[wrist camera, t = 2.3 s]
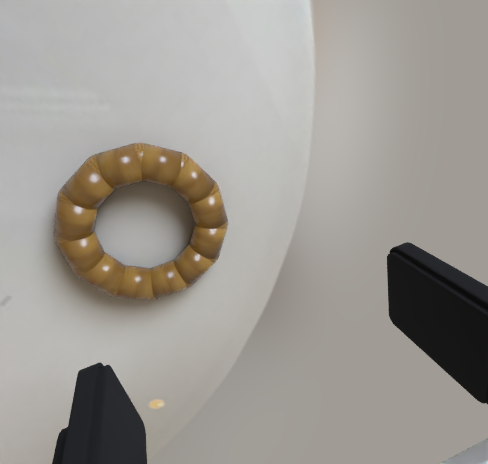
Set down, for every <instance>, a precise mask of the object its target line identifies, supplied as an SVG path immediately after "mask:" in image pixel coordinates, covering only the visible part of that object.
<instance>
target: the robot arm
mask: <svg viewBox="0 0 488 464" xmlns="http://www.w3.org/2000/svg"><path fill="white" fill-rule="evenodd" d="M387 269H388V270H387V272H388V300H389V316H390V319H391V321H392V322H393V324H394V325H395V326H396V327H397V328H399V329H400V330H401V331H402V332H403V333H404V334H405V335H406V336H407V337H408V338H410V339H411V340H412V341H413V342H414V343H415V344H416V345H417V346H418V347H419V348H421V349H422V350H423V351H424V352H425V353H426V354H427V355H428V356H429V357H430V358H432V359H433V360H434V361H435V362H436V363H437V364H438V365H439V366H440V367H441V368H443V369H444V370H445V371H446V372H447V373H448V374H449V375H450V376H451V377H453V379H455V380H456V381H457V382H458V383H459V384H460V385H461V386H462V387H463V388H464V389H466V390H467V391H468V392H469V393H470V394H471V395H472V396H473V397H474V398H475V399H477V400H478V401H480V402H481V403H487V404H488V286H486V285H484V284H482V283H480V282H479V281H477V280H475V279H474V278H472V277H470V276H468V275H466V274H465V273H463V272H461V271H459V270H458V269H456V268H454V267H452V266H451V265H449V264H447V263H445V262H443V261H441V260H440V259H438V258H436V257H435V256H433V255H431V254H429V253H427V252H426V251H424V250H422V249H420V248H419V247H417V246H415V245H413V244H411V243H404V244H402V245H399V246H396V247H394V248H392V249H391V250H390V254H388V256H387ZM52 464H147V454H146V433H145V427H144V424H143V421H142V419H141V417H140V416H139V414H138V412H137V411H136V409H135V407H134V405H133V404H132V402H131V400H130V399H129V397H128V395H127V393H126V392H125V390H124V388H123V387H122V385H121V383H120V381H119V380H118V378H117V376H116V375H115V373H114V371H113V369H112V368H111V366H110V365H106V366H103V364H102V363H97V364H95V365H92V366H90V367H87V368H84V369H82V370H80V371H79V372H78V376H77V381H76V387H75V392H74V398H73V403H72V409H71V414H70V419H69V425H68V427H67V428H65V429H62V430H61V432H60V433H59V436H58V439H57V444H56V448H55V453H54V458H53V463H52ZM440 464H488V439H486V440H484V441H482V442H480V443H478V444H476V445H474V446H472V447H471V448H468V449H467V450H465V451H463V452H461V453H459V454H457V455H455V456H453V457H451V458H450V459H448V460H446V461H444V462H442V463H440Z"/></svg>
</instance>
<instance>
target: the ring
mask: <svg viewBox="0 0 488 464" xmlns="http://www.w3.org/2000/svg"><path fill="white" fill-rule="evenodd" d="M140 181H146V182H151V183H156V184H161V185H166V186H170V187H171V188H172V189H173V190H174V191H176V192H177V193H178V194H179V195H180V196H181V197H183V198H184V199H185V200H186V201H187V202H188V203H189V206H190V209H191V212H192V215H193V218H194V221H195V225H194V229H193V233H192V237H191V241H190V244H189V245H188V246H187V247H186V248H185V249H184V250H183V251H182V252H181V253H180V254H179V255H178V256H177V257H176V258H175V259H174V260H173V261H170V262H167V263H164V264H161V265H158V266H155V267H153V268H144V267H135V266H126V265H124V264H122V263H121V262H119V261H118V260H116V259H114V258H113V257H111V256H110V255H108V254H107V253H105V252H104V250H103V248H102V246H101V244H100V242H99V240H98V238H97V236H96V234H95V232H94V229H95V222H96V215H97V209H98V207H99V206H100V205H101V204H102V203H103V202H104V200H105V199H106V198H107V197H108V196H109V195H110V194H111V193H112V192H113V191H114V190H115V189H116V188H120V187H123V186H126V185H130V184H133V183H136V182H140ZM227 226H228V220H227V216H226V212H225V208H224V205H223V201H222V197H221V194H220V190H219V187H218V185H217V183H216V182H215V181H214V180H213V179H212V178H211V177H210V176H209V175H208V174H207V173H206V172H205V171H204V170H203V169H202V168H200V167H199V166H198V165H197V164H196V163H195V162H194V161H193V160H192V159H191V158H190V157H189V156H187V155H186V154H184V153H181V152H177V151H173V150H169V149H165V148H161V147H157V146H153V145H149V144H145V143H134V144H130V145H127V146H123V147H120V148H116V149H113V150H109V151H105V152H102V153H98V154H95V155H93V156H91V157H89V158H88V159H87V160H86V161H85V162H84V164H83V165H82V166H81V167H80V168H79V169H78V170H77V171H76V172H75V174H74V175H73V176H72V177H71V178H70V179H69V180H68V181H67V182H66V184H65V185H64V186H63V187H62V188H61V189H60V191H59V193H58V198H57V207H56V216H55V225H54V238H55V241H56V243H57V245H58V246H59V248H60V250H61V252H62V254H63V255H64V257H65V259H66V261H67V262H68V264H69V266H70V268H71V270H72V271H73V273H74V274H75V275H76V276H77V277H78V278H80V279H82V280H83V281H85V282H87V283H89V284H90V285H92V286H94V287H95V288H97V289H99V290H100V291H102V292H104V293H106V294H107V295H109V296H111V297H117V298H129V299H142V300H155V299H158V298H161V297H164V296H167V295H170V294H172V293H175V292H178V291H181V290H183V289H186V288H189V287H191V286H192V285H193V284H194V283H195V282H196V281H197V280H198V279H199V278H200V277H201V276H202V275H203V274H204V273H205V272H206V271H207V270H208V269H209V268H210V267H211V266H212V265H213V264H214V263H215V262H216V260H217V259H218V257H219V254H220V250H221V247H222V243H223V240H224V236H225V233H226V229H227Z"/></svg>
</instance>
